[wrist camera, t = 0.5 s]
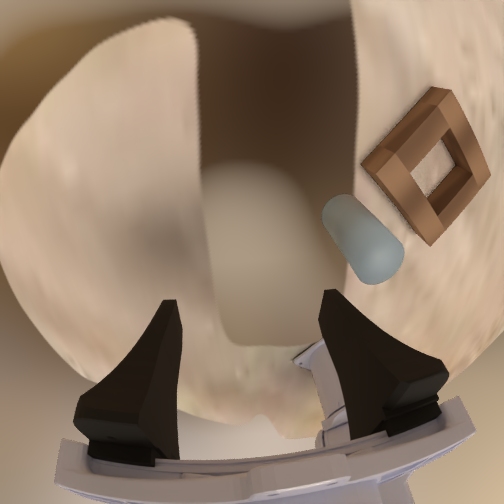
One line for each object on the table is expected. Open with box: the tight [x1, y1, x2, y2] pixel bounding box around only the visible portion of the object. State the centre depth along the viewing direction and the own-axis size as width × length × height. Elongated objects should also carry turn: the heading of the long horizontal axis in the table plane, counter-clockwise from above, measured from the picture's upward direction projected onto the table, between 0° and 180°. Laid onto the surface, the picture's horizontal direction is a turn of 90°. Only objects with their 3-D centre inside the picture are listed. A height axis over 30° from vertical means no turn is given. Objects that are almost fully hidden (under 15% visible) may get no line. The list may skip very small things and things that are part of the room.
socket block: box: [361, 87, 491, 246], centre depth 20 cm, size 10×10×2 cm
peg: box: [321, 194, 404, 285], centre depth 20 cm, size 4×4×7 cm
